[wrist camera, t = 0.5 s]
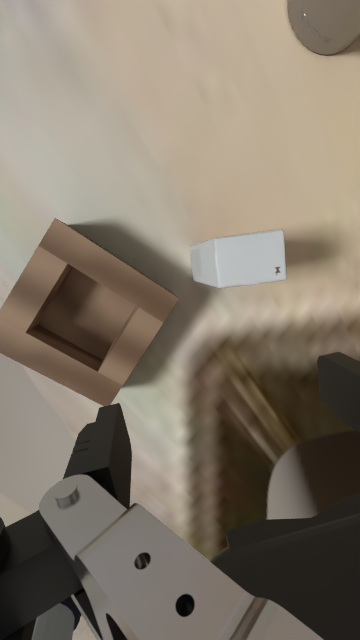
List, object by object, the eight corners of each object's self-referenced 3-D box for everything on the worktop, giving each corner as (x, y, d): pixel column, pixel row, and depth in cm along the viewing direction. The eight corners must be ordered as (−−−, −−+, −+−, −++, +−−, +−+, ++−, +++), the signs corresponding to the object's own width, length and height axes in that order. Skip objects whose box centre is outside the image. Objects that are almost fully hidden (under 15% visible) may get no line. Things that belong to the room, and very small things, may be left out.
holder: (67, 224, 33) (54, 218, 28) (173, 293, 36) (179, 298, 31) (2, 331, 34) (-20, 342, 29) (111, 388, 37) (107, 408, 32)
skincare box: (237, 239, 36) (286, 228, 24) (239, 275, 36) (289, 281, 25) (187, 245, 35) (213, 236, 23) (191, 281, 36) (218, 290, 24)
